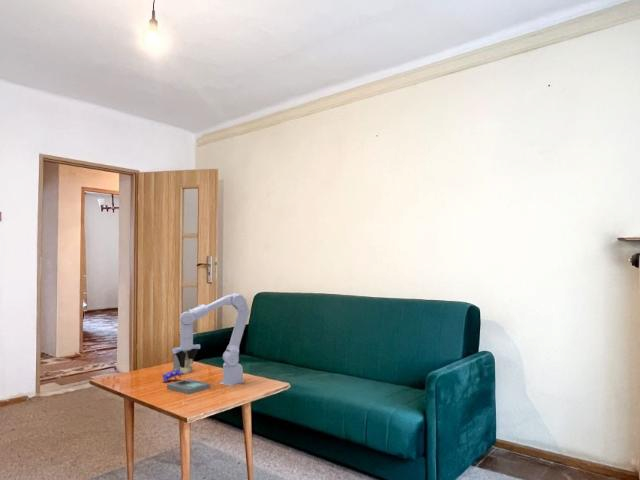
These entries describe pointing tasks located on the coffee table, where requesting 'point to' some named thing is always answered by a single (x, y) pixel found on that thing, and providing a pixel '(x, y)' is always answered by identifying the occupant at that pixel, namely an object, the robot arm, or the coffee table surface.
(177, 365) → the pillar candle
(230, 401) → the coffee table surface
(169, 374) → the game controller
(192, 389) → the pocket board
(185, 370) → the birch block
